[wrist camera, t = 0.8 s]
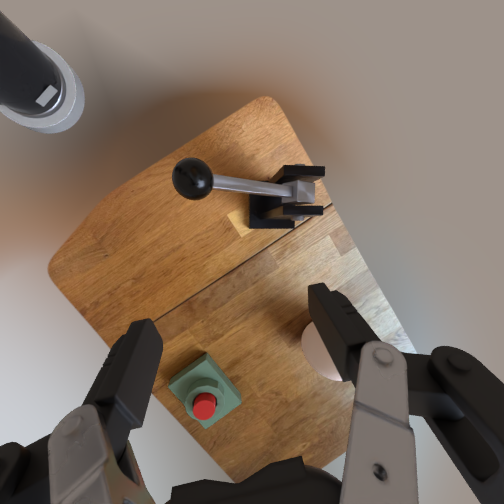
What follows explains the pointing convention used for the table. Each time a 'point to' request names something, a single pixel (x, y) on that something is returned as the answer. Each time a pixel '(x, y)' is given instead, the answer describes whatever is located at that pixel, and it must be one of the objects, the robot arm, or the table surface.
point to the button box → (205, 388)
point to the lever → (234, 184)
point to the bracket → (271, 208)
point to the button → (204, 406)
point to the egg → (318, 353)
